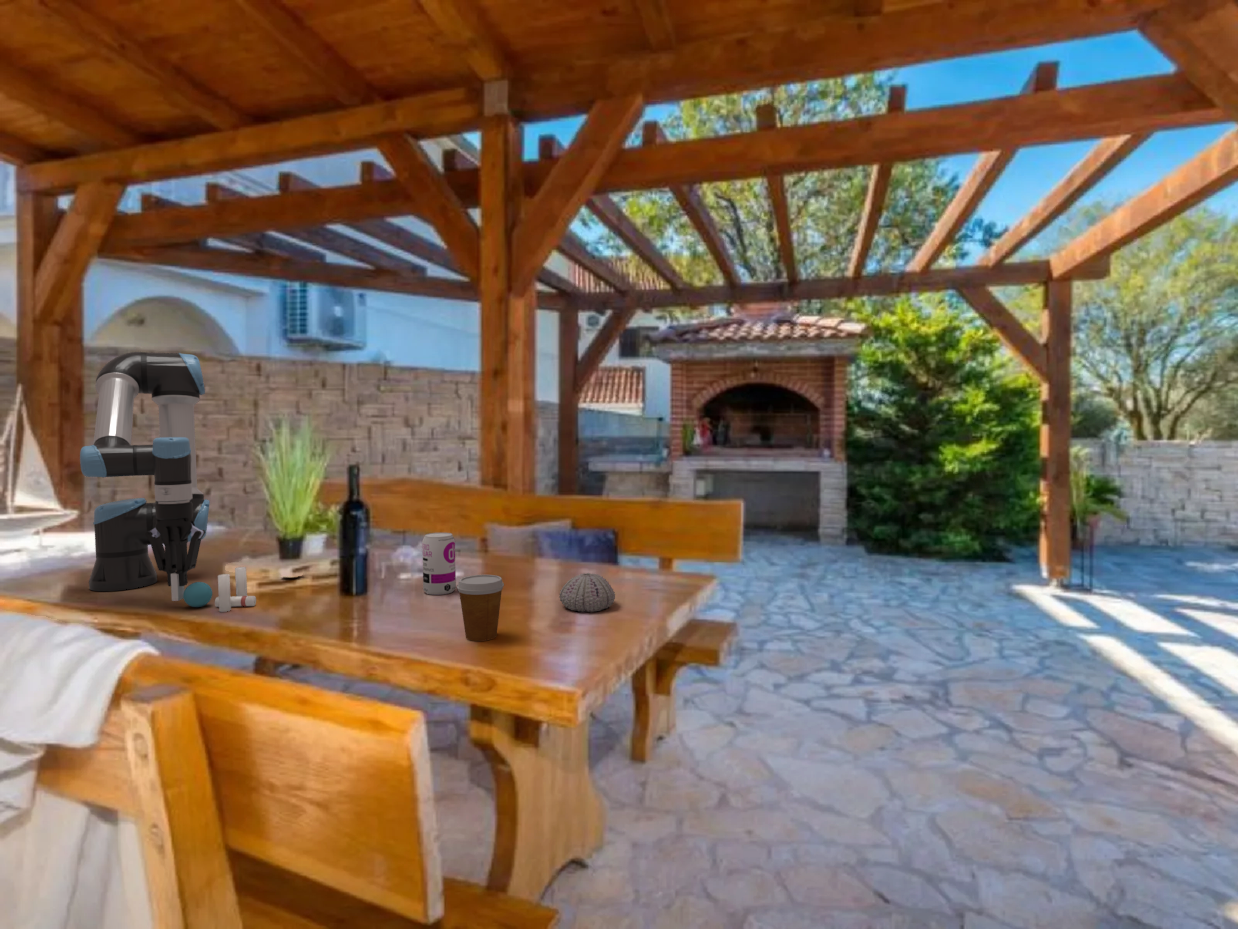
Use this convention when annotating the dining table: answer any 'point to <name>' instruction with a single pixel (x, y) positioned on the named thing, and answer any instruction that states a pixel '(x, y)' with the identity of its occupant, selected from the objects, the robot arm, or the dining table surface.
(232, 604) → the front pin
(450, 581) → the supplement can
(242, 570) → the back left pin
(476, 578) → the disposable coffee cup
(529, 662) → the dining table surface
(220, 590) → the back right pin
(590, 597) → the sea urchin shell
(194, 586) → the ball
